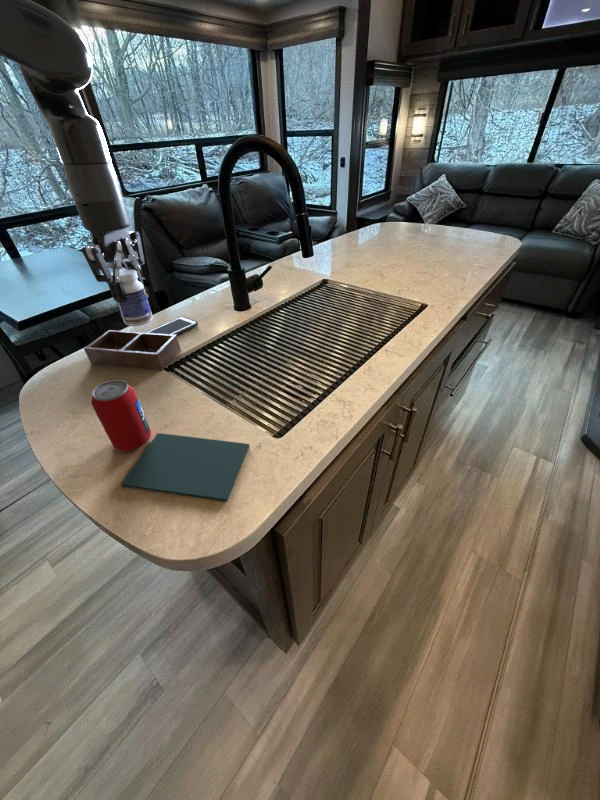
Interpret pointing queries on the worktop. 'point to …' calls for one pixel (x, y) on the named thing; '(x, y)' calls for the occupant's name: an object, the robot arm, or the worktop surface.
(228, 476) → the mat
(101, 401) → the beverage can
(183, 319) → the cell phone
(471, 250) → the worktop surface
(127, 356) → the divided tray
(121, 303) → the pill bottle
